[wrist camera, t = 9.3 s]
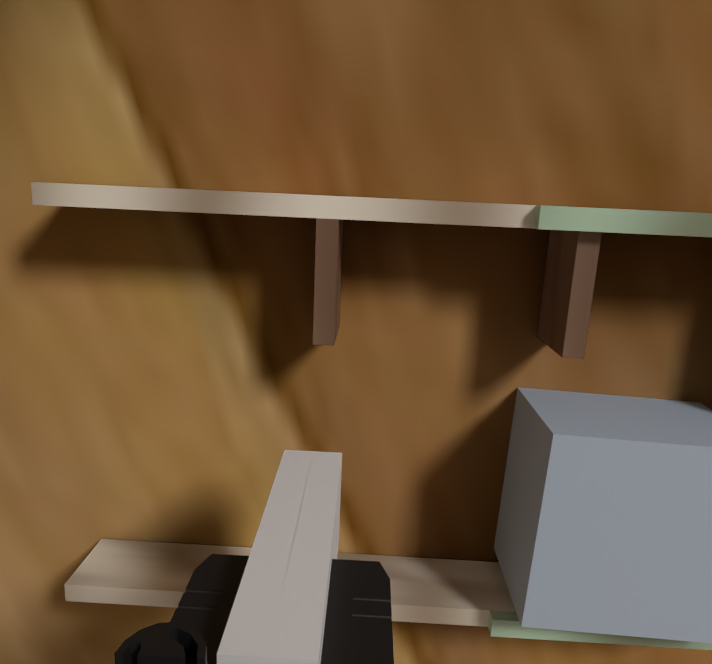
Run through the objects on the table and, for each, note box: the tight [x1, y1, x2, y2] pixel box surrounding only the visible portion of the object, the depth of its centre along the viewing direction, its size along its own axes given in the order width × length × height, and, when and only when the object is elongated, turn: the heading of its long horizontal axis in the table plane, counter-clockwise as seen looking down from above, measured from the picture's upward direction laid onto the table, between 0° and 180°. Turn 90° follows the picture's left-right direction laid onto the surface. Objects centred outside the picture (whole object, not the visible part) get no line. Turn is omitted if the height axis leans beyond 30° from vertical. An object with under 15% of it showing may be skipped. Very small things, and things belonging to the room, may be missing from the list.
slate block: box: [494, 388, 712, 643], centre depth 18 cm, size 6×6×4 cm
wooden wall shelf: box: [31, 182, 712, 650], centre depth 17 cm, size 22×13×3 cm, turn 87°
